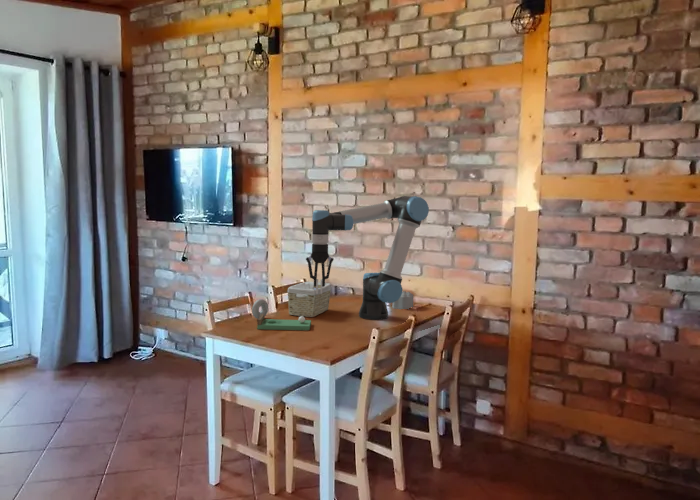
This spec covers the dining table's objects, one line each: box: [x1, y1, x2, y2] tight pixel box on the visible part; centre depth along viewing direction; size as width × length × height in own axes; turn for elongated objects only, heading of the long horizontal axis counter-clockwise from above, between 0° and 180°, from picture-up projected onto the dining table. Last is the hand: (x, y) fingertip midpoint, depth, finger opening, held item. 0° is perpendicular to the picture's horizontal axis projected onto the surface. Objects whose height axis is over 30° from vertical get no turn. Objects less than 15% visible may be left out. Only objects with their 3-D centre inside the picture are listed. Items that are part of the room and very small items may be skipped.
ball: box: [297, 316, 306, 323], centre depth 271 cm, size 3×3×3 cm
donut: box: [251, 298, 269, 320], centre depth 286 cm, size 10×4×10 cm, turn 144°
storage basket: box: [287, 281, 332, 318], centre depth 303 cm, size 24×16×15 cm
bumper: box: [256, 314, 266, 326], centre depth 271 cm, size 2×12×2 cm, turn 0°
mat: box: [256, 318, 312, 331], centre depth 272 cm, size 24×12×2 cm, turn 90°
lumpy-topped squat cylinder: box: [391, 290, 414, 310], centre depth 323 cm, size 10×13×9 cm
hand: (319, 293), depth 270 cm, fingers closed
